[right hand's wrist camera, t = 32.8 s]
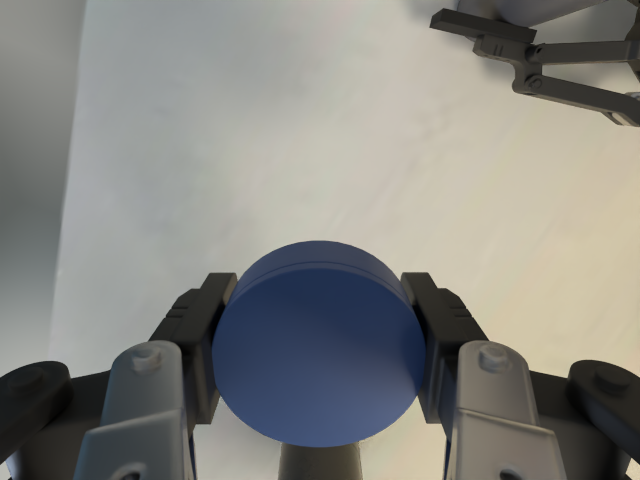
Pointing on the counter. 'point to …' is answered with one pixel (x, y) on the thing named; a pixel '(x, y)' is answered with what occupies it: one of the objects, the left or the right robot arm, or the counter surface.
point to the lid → (318, 346)
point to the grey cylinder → (522, 10)
